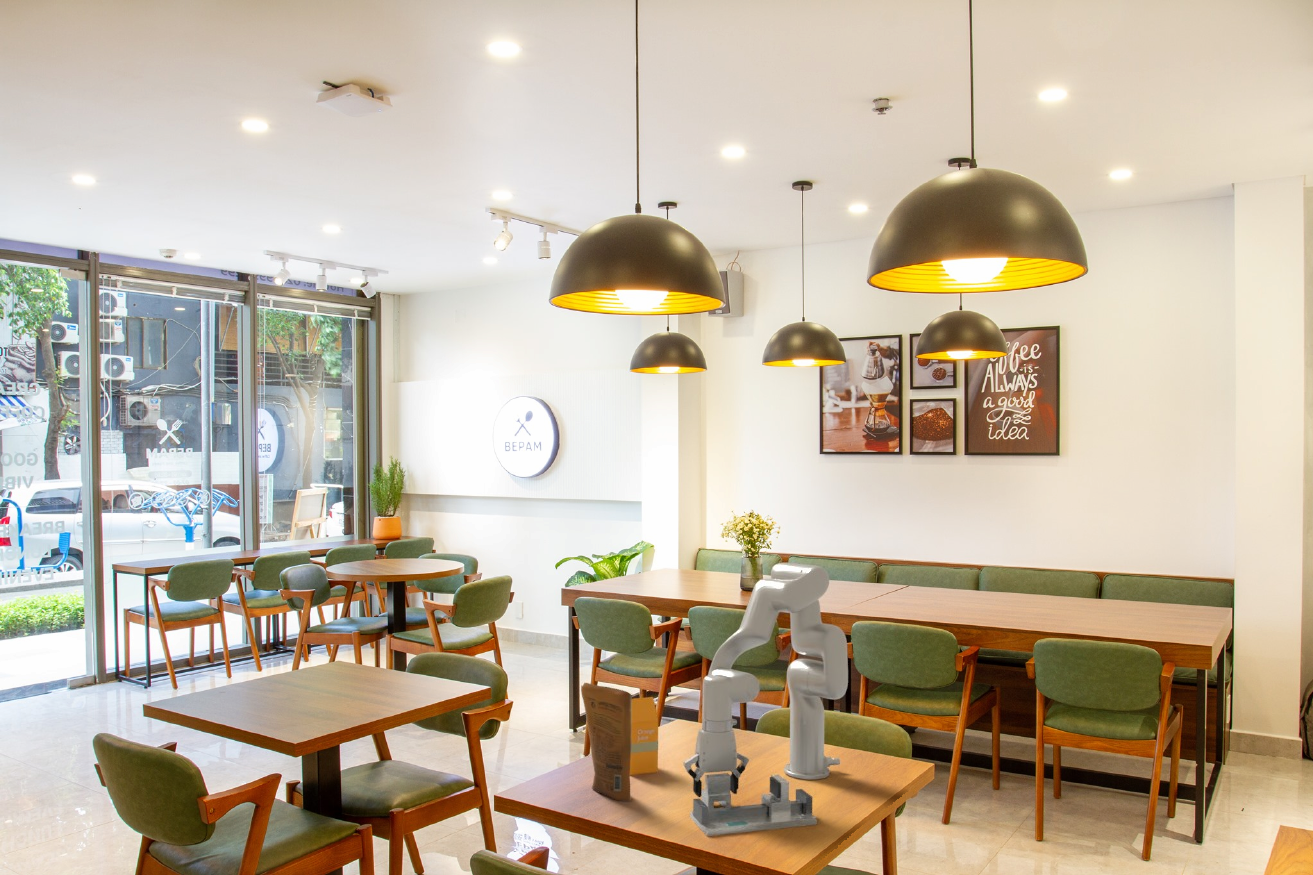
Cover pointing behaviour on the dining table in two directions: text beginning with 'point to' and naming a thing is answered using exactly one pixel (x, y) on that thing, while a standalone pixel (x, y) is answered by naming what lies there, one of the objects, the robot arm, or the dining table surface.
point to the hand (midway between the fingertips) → (715, 793)
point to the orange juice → (644, 736)
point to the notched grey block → (717, 790)
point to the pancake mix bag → (609, 738)
